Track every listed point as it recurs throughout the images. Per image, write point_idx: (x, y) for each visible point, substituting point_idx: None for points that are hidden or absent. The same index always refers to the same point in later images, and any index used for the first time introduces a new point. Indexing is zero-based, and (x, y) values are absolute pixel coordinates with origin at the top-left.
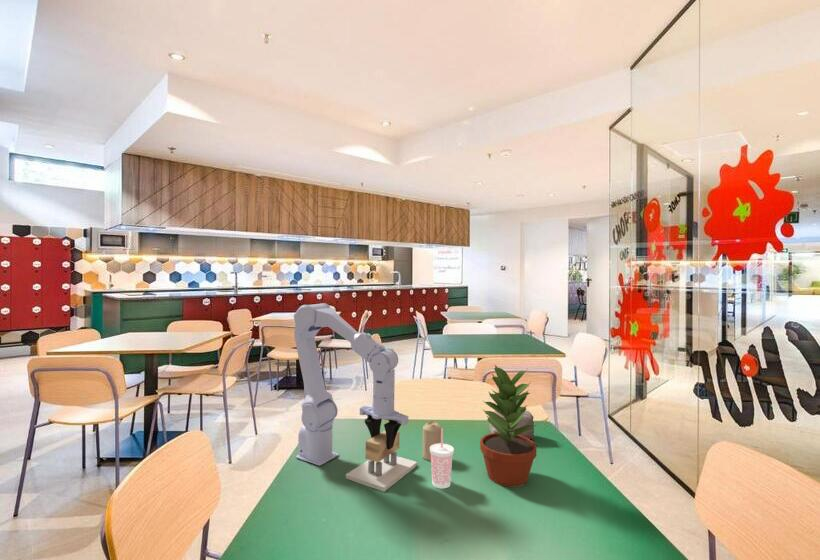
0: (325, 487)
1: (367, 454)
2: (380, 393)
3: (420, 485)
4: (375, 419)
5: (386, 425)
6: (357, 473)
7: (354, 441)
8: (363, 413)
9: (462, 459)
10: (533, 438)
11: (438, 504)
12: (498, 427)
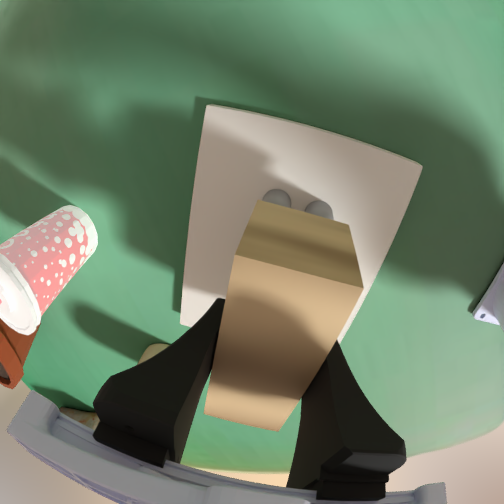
0: (463, 77)
1: (337, 234)
2: None
3: (115, 200)
4: (314, 476)
5: (144, 412)
6: (375, 186)
7: (428, 391)
8: (419, 498)
9: (103, 354)
10: (61, 407)
11: (40, 122)
12: None
